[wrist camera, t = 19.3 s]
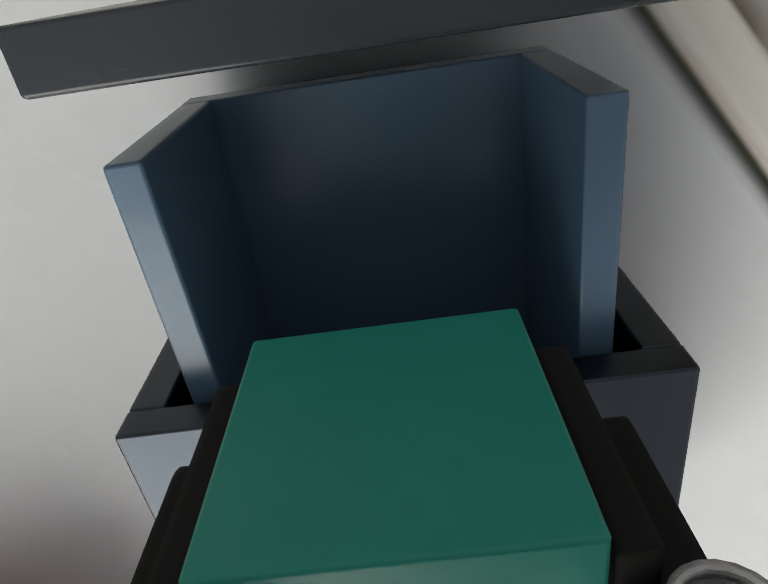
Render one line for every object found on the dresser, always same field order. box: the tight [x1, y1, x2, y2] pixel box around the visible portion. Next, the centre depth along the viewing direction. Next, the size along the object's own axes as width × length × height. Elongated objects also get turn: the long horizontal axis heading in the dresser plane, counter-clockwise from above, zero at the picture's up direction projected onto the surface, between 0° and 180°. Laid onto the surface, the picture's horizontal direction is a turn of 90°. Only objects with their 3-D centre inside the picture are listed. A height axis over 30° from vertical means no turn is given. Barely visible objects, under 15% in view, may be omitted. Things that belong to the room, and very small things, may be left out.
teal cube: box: [179, 309, 611, 584], centre depth 9 cm, size 4×4×4 cm
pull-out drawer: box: [0, 0, 677, 404], centre depth 14 cm, size 20×12×7 cm, turn 8°
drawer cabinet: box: [116, 266, 700, 520], centre depth 20 cm, size 15×13×9 cm
